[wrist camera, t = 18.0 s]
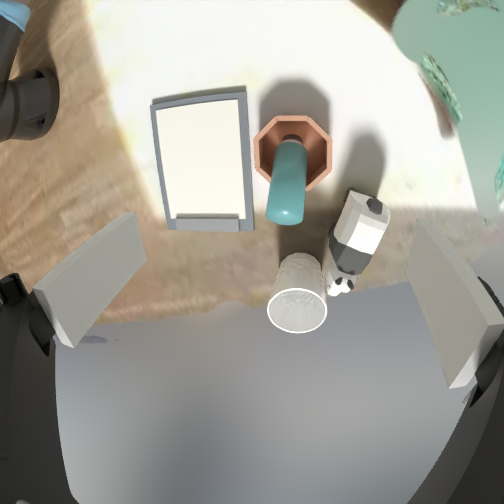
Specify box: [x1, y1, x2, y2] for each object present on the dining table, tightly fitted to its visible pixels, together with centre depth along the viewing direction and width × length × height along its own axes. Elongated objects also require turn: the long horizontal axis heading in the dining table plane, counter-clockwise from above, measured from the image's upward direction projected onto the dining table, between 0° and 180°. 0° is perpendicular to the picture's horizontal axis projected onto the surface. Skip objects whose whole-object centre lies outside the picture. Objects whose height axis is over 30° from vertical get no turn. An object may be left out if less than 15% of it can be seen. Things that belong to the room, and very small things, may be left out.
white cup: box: [267, 253, 327, 333], centre depth 40 cm, size 8×8×10 cm
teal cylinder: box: [266, 134, 308, 225], centre depth 31 cm, size 4×4×11 cm
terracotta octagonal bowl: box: [253, 115, 332, 191], centre depth 33 cm, size 9×9×4 cm
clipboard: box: [150, 92, 255, 232], centre depth 38 cm, size 20×14×2 cm
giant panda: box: [325, 188, 391, 297], centre depth 35 cm, size 15×6×10 cm, turn 166°
